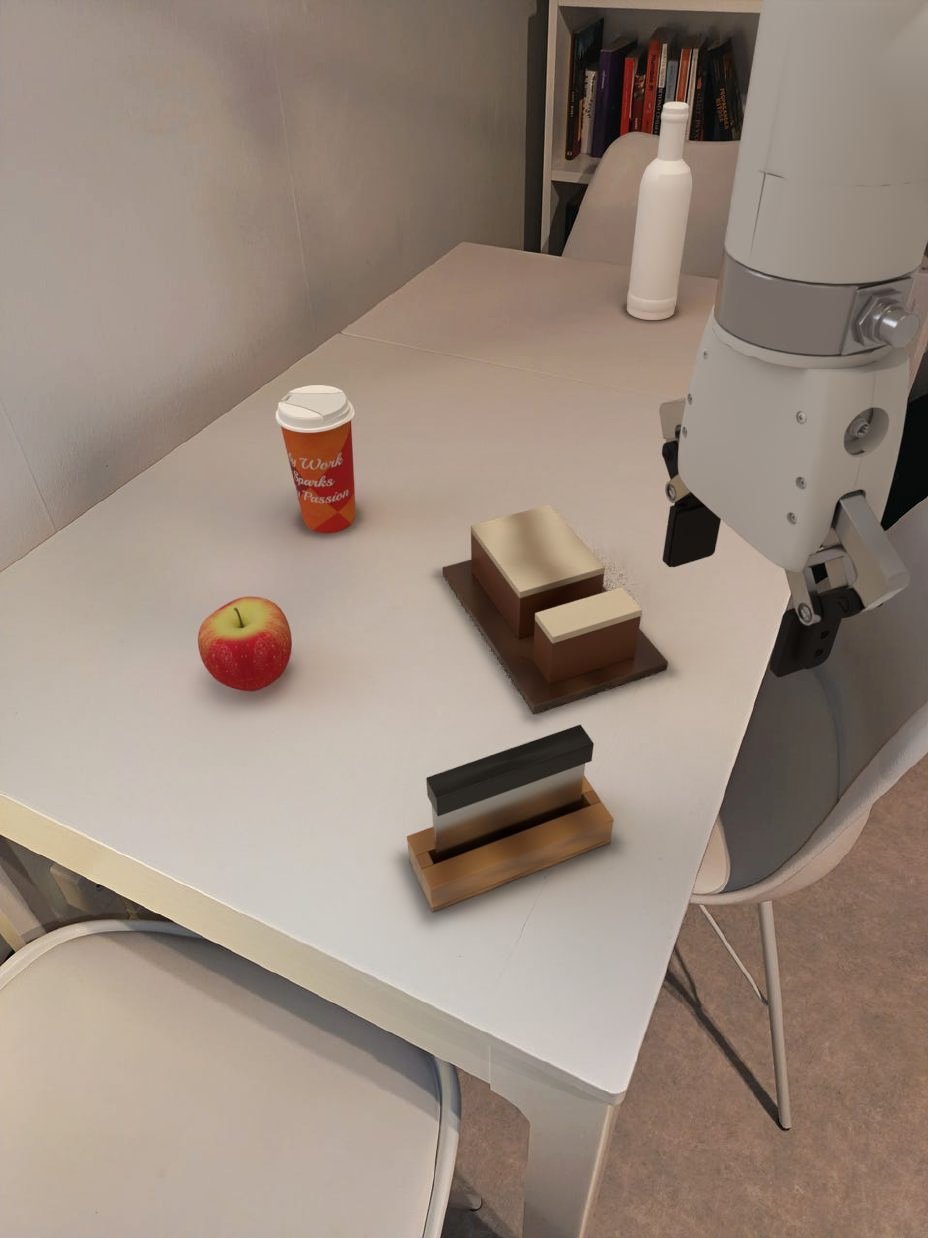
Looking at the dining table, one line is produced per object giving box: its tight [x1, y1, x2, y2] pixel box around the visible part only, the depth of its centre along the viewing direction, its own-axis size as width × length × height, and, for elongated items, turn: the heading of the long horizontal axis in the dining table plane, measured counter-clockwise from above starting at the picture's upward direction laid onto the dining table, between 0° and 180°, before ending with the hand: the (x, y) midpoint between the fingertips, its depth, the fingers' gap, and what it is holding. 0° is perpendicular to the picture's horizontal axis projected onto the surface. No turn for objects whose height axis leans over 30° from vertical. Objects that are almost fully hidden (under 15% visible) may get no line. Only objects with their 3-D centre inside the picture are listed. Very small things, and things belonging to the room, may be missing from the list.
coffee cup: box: [275, 384, 356, 534], centre depth 98 cm, size 8×8×15 cm
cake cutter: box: [425, 724, 595, 864], centre depth 65 cm, size 12×2×10 cm, turn 113°
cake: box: [441, 504, 669, 714], centre depth 87 cm, size 14×22×7 cm, turn 23°
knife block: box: [406, 775, 615, 912], centre depth 68 cm, size 15×5×3 cm, turn 113°
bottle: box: [626, 101, 694, 321], centre depth 135 cm, size 8×8×30 cm
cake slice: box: [533, 586, 643, 685], centre depth 81 cm, size 9×4×6 cm, turn 113°
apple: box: [197, 596, 293, 692], centre depth 80 cm, size 8×8×10 cm
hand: (738, 608), depth 48 cm, fingers open, 9 cm apart
